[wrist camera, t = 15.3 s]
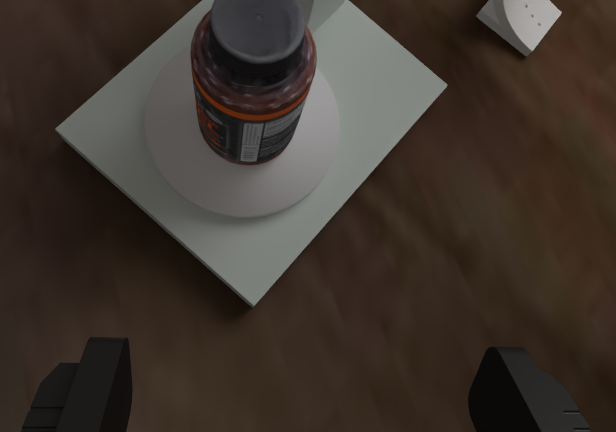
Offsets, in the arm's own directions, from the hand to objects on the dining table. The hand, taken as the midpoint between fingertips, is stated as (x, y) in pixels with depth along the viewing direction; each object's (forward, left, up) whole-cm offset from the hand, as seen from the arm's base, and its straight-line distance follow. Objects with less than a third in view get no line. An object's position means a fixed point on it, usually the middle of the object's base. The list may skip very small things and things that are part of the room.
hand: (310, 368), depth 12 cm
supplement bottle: (-10, -10, -19) cm, 23 cm away
